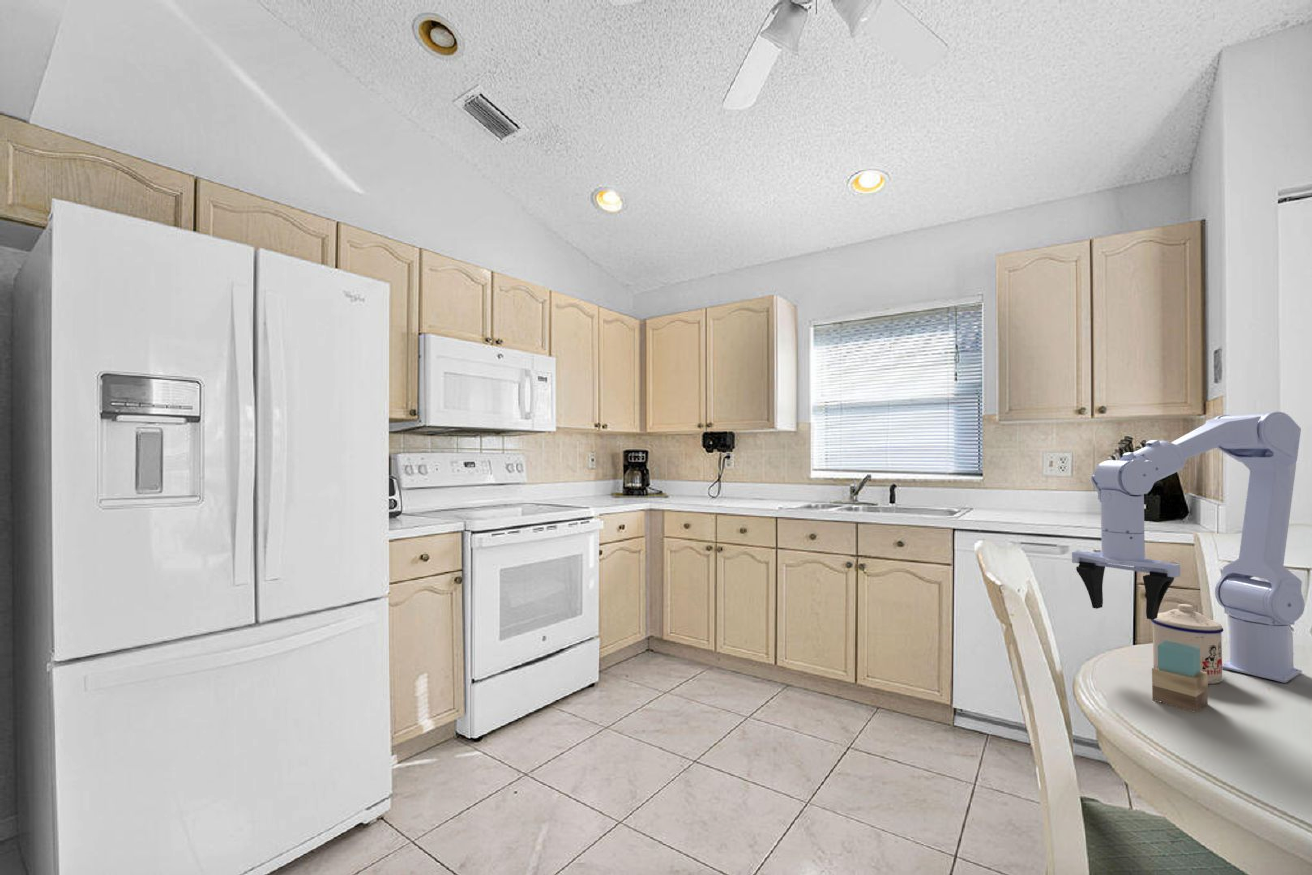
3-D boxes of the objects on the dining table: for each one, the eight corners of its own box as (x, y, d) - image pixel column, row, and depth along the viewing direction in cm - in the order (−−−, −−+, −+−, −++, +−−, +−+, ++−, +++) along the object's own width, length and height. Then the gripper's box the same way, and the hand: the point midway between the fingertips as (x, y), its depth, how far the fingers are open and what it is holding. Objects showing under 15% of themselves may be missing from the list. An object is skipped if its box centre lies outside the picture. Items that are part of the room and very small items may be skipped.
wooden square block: (1165, 694, 92) (1164, 678, 92) (1207, 706, 87) (1207, 689, 88) (1152, 701, 89) (1152, 684, 89) (1196, 714, 85) (1195, 696, 85)
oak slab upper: (1165, 678, 92) (1164, 662, 92) (1207, 689, 87) (1207, 672, 87) (1152, 685, 89) (1151, 668, 89) (1195, 696, 85) (1195, 679, 85)
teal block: (1165, 663, 91) (1165, 640, 91) (1200, 671, 88) (1199, 647, 88) (1158, 668, 89) (1157, 645, 89) (1193, 677, 86) (1192, 652, 86)
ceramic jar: (1218, 689, 93) (1217, 615, 93) (1145, 672, 100) (1144, 603, 100) (1232, 672, 100) (1231, 603, 100) (1163, 657, 107) (1162, 593, 108)
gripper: (1062, 528, 103) (1063, 606, 103) (1166, 538, 91) (1168, 627, 91) (1082, 525, 107) (1083, 600, 107) (1184, 535, 95) (1186, 620, 94)
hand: (1123, 612), depth 99 cm, fingers open, 7 cm apart
